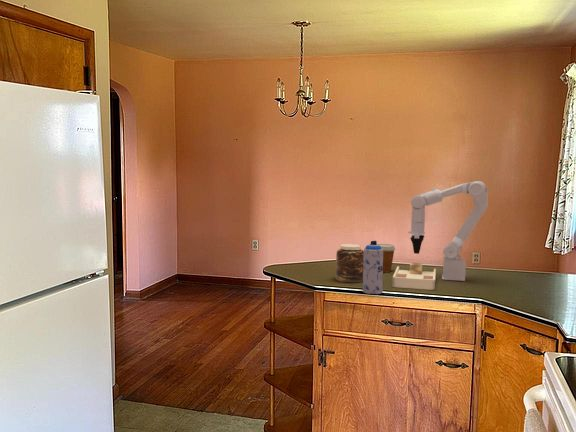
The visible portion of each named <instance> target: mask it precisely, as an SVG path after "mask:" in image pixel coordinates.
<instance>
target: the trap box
mask: <svg viewBox="0 0 576 432" xmlns="http://www.w3.org/2000/svg"><path fill="white" fill-rule="evenodd" d="M436 273H437V268H433V271H423V270H422V275H420V274H410V269H409V270H407V269H406V270H405V269H400V266H399V265H398V266H396V269H395V271H394V273H393V275H392V284H391V285H392V288H400V289H402V288H403V289H414V290H415V289H416V290H428V291H429V290H431V291H435V290H436V280H437V279H436V277H437V274H436Z"/></svg>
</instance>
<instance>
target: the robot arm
mask: <svg viewBox="0 0 576 432" xmlns="http://www.w3.org/2000/svg"><path fill="white" fill-rule="evenodd" d="M488 192H489V190H488V188H487V185H486V183H484V182H483V181H482V180H476V181H471V182H465V183H461V184H457V185H455V186H452V187H449V188H446V189H443V190H440V189H438V188H432V189H430V191H426V192H421V193H420V194H417V195H414V196H413V197H411V200H410V205H411V206H412V207H411V222H410V223H411V225H410V230H409V231H408V234H411V237H410V240H411V241H410V242H411V243H412V249H413V254H416V255H417V254H420V251H421V248H422V243H423V241H424V238H425V227H426V226H425V221H426V220H425V219H426V206H432V205H434V204H437V203H441V202H443V199H444V198H446V197H450V196H454V195H457V194H460V193H461V194H466V195H467V194H469V195H470V196H471V197H472V200H473V202H474V207H473V209H472V210H471V211H470V213H469V214H468V216H467V217H466V219H465V221H464V222H463V224H462V225H461V226H460V228H459V230H458V231H457V233H456V234H455V236H454V238H453V239H452V240H451V241H450V242H449V243H448V244H447V245H445V246H444V248H443V255H444V256H443V263H442V264H443V266H442V267H443V269H442V275H441V280H444V281H445V280H446V281H447V280H448V281H461V282H465V281H466V276H467V272H466V267H467V266H466V263H467V262H466V261H467V260H466V259H465V258H462V257H461V256H460V254H461V252H462V248H463V245H464V244H465V242H466V240H467V239H468V237H469V236H470V234H471V233H472V231H474V230H473V229H474V228H475V226H476V225H477V224H478V222H479V221H480V219H481V218H482V216H483V215H484V214H485V212H486V210H487V209H488V207H489V197H488V196H489V195H488V194H489V193H488Z"/></svg>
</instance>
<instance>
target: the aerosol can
mask: <svg viewBox="0 0 576 432" xmlns="http://www.w3.org/2000/svg"><path fill="white" fill-rule="evenodd" d="M378 244H379V243H377V240H372V241H370V243H369V244H367V245H366V246H365V247H364V248H363V251H364V265H363V281H362V290H361V291H362V292H363V293H365V294H368V295H369V294H370V295H379V294H382V293H383V292H384V290H383V277H384V276H383V275H384V274H383V273H384V272H383V249H382V248H381V246H379V245H378Z"/></svg>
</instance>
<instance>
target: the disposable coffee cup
mask: <svg viewBox="0 0 576 432" xmlns="http://www.w3.org/2000/svg"><path fill="white" fill-rule="evenodd" d="M377 244H378V245H379V246H381V248H382V249H383V273H389V272H391V271H392V265H393V261H394V256H395V255H394V254H395V251H396V247H395V245H394V244H388V243H377Z"/></svg>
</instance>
